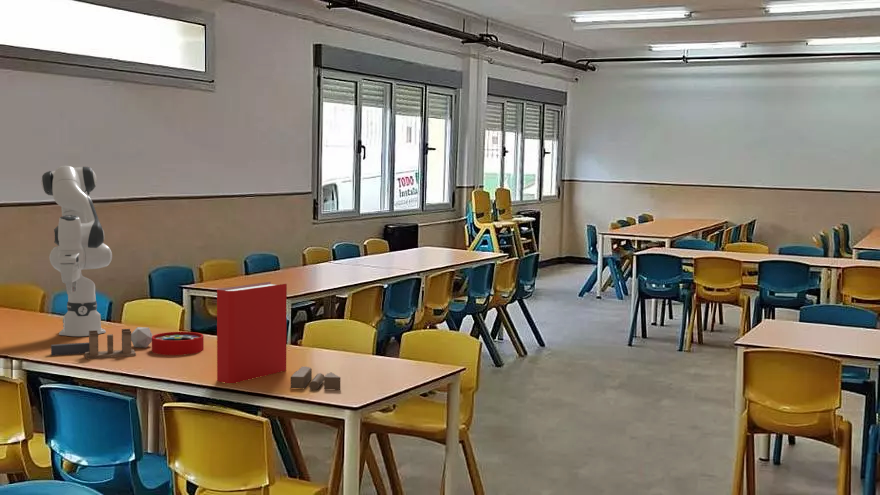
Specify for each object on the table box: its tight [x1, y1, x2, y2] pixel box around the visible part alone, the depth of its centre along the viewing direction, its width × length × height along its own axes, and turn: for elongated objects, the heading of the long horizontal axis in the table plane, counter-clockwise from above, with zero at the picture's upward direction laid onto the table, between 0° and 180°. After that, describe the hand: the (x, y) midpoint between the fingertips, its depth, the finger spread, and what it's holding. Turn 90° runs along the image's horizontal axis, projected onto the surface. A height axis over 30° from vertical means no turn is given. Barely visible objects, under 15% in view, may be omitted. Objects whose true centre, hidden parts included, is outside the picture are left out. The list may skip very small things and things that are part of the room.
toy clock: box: [151, 331, 205, 356], centre depth 376 cm, size 20×6×20 cm
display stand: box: [84, 328, 137, 360], centre depth 363 cm, size 8×18×10 cm, turn 113°
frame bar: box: [50, 341, 89, 356], centre depth 365 cm, size 2×14×4 cm, turn 115°
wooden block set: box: [290, 366, 341, 391], centre depth 323 cm, size 17×6×18 cm
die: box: [131, 326, 153, 349], centre depth 381 cm, size 8×9×10 cm
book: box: [216, 281, 288, 384], centre depth 332 cm, size 27×8×32 cm, turn 147°
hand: (71, 292), depth 365 cm, fingers open, 8 cm apart
